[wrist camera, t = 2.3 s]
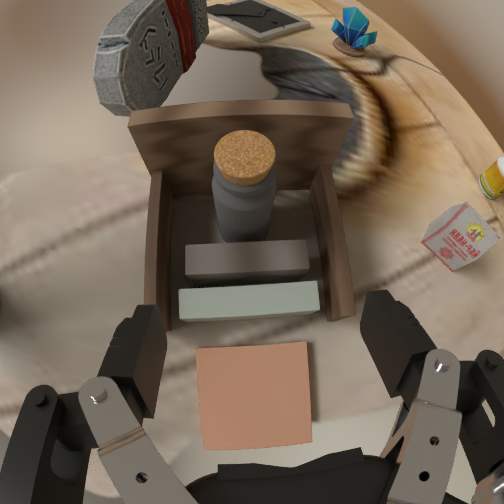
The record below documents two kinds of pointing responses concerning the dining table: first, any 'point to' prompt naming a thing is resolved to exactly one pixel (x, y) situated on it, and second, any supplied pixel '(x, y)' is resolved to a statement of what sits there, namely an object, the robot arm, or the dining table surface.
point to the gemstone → (352, 33)
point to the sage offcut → (248, 302)
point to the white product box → (459, 236)
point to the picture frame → (256, 19)
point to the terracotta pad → (254, 396)
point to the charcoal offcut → (246, 262)
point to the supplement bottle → (493, 179)
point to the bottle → (244, 185)
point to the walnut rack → (201, 174)
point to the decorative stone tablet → (147, 52)
